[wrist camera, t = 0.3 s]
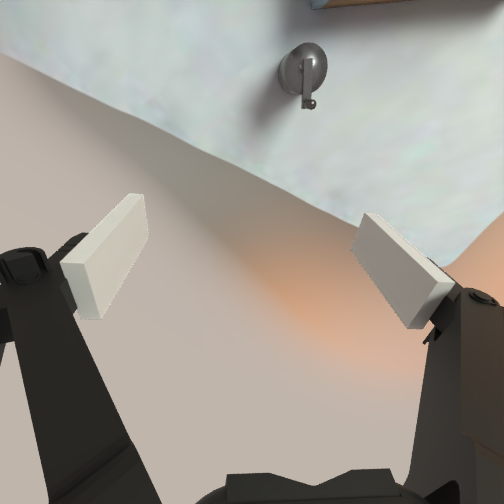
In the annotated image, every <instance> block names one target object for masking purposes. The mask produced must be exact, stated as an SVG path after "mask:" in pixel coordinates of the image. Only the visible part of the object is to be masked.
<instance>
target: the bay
mask: <svg viewBox="0 0 504 504" xmlns="http://www.w3.org/2000/svg"><path fill="white" fill-rule="evenodd" d="M399 1H411V0H312V8H311V9H321V8H332V7H343V6H355V5H366V4H377V3H388V2H399Z"/></svg>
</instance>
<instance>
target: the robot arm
mask: <svg viewBox="0 0 504 504" xmlns="http://www.w3.org/2000/svg"><path fill="white" fill-rule="evenodd" d="M148 238H149V231H148V224H147V216H146V208H145V201H144V195H143V194H132V193H129V194H128V195H127V196H126V197H125V198H124V199H123V200H122V201H121V202H120V203H119V204H118V205H117V206H116V207H115V208H114V209H113V210H112V211H111V212H110V213H109V214H108V215H107V216H106V217H105V218H104V219H103V220H102V221H101V222H100V223H99V224H98V225H97V226H96V227H95V228H94V229H93V230H92V231H91V232H90V233H80V234H78V235H76V236H74V237H72V238H71V239H69V240H68V241H67V242H66V243H65V244H64V246H62V247H61V248H60V249H59V250H58V251H56V252H55V253H54V254H53V255H52V256H51V257H50V258H49V259H47V257H46V254H45V252H44V251H43V250H42V249H40V248H36V247H25V248H18V249H13V250H10V251H7V252H4V253H2V254H0V283H1V285H0V364H1V361H2V357H3V353H4V349H5V345H6V343H8V342H12V341H14V342H15V346H16V351H17V355H18V360H19V364H20V369H21V373H22V378H23V382H24V387H25V392H26V396H27V400H28V405H29V409H30V414H31V419H32V423H33V428H34V432H35V437H36V441H37V446H38V451H39V455H40V459H41V464H42V469H43V473H44V478H45V482H46V487H47V492H48V497H49V504H162V503H161V501H160V498H159V496H158V494H157V492H156V490H155V488H154V486H153V484H152V482H151V479H150V477H149V475H148V473H147V471H146V469H145V466H144V465H143V462H142V460H141V458H140V456H139V454H138V452H137V450H136V448H135V446H134V444H133V442H132V441H131V439H130V437H129V435H128V433H127V431H126V429H125V427H124V425H123V422H122V420H121V418H120V416H119V414H118V412H117V409H116V407H115V405H114V403H113V401H112V399H111V396H110V394H109V392H108V390H107V388H106V386H105V384H104V381H103V379H102V377H101V375H100V373H99V371H98V368H97V366H96V364H95V362H94V360H93V358H92V356H91V353H90V351H89V349H88V347H87V345H86V343H85V340H84V339H83V336H82V334H81V332H80V330H79V328H78V325H77V323H76V321H75V319H74V317H73V313H74V312H75V311H76V309H77V310H78V313H79V316H80V318H81V319H88V320H102V318H103V316H104V315H105V313H106V311H107V309H108V308H109V306H110V304H111V302H112V301H113V299H114V297H115V296H116V294H117V292H118V290H119V289H120V287H121V285H122V283H123V282H124V280H125V278H126V276H127V275H128V273H129V271H130V270H131V267H132V266H133V264H134V263H135V261H136V259H137V257H138V256H139V254H140V252H141V251H142V249H143V247H144V245H145V244H146V242H147V240H148ZM351 252H352V253H353V254H354V256H355V257H356V259H357V260H358V261H359V263H360V264H361V265H362V267H363V268H364V270H365V271H366V272H367V274H368V275H369V277H370V278H371V279H372V281H373V282H374V283H375V285H376V286H377V288H378V289H379V290H380V292H381V293H382V295H383V296H384V297H385V299H386V300H387V301H388V303H389V304H390V305H391V307H392V308H393V310H394V311H395V313H396V314H397V315H398V317H399V318H400V320H401V321H402V322H403V324H404V325H405V327H406V328H407V329H423V328H424V327H425V325H426V323H427V322H428V321H429V320H430V321H431V322H432V323H433V324H434V325H435V326H434V328H433V329H432V330H431V332H430V333H429V335H428V336H427V337H426V339H425V340H424V341H423V344H426V342H429V345H428V352H427V359H426V365H425V372H424V379H423V385H422V392H421V398H420V405H419V412H418V419H417V425H416V432H415V438H414V445H413V451H412V458H411V465H410V471H409V475H408V477H407V479H406V481H405V483H404V485H403V486H402V485H400V484H398V483H395V480H394V478H393V476H392V473H391V471H390V469H361V470H350V471H348V472H346V473H344V474H342V475H339V476H337V477H335V478H333V479H330V480H328V481H326V482H324V483H321V484H319V485H316V486H311V485H307V484H304V483H301V482H297V481H294V480H291V479H288V478H285V477H281V476H278V475H275V474H271V473H252V474H250V473H249V474H227V477H226V485H225V486H223V487H221V488H218V489H216V490H214V491H212V492H211V493H209V494H207V495H206V496H204V497H203V498H202V499H201V500H199V501H198V502H197V503H196V504H504V307H502V306H500V305H499V303H498V302H497V301H496V300H495V299H494V298H493V297H491V296H489V295H488V294H486V293H484V292H482V291H479V290H476V289H473V288H463V287H462V286H461V285H459V284H458V283H457V282H456V281H455V280H454V279H453V278H451V277H450V276H449V275H448V274H447V273H446V272H444V271H443V270H442V269H441V268H440V267H438V265H436V264H435V263H434V262H433V261H432V260H431V259H429V258H427V257H426V256H424V255H423V254H422V253H421V252H420V251H419V250H417V249H416V248H415V247H414V246H413V245H412V244H411V243H410V242H408V241H407V240H406V239H405V238H404V237H403V236H402V235H400V234H399V233H398V232H397V231H396V230H395V229H394V228H392V227H391V226H390V225H389V224H388V223H387V222H386V221H384V220H383V219H382V218H381V217H380V216H379V215H378V214H376V213H364V216H363V218H362V221H361V224H360V226H359V229H358V232H357V234H356V237H355V239H354V242H353V245H352V247H351Z"/></svg>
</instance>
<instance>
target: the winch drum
mask: <svg viewBox="0 0 504 504" xmlns="http://www.w3.org/2000/svg"><path fill="white" fill-rule="evenodd" d="M326 73H327V58H326V55H325V53H324V51H323V49H322V48H321V47H320V46H318V45H317V44H314V43H303V44H301V45H299V46H298V47H296V48H295V49H294V50H292V51H291V52H290V53H288V54H287V55H286V56H285V57H284V58H283V60H282V62H281V64H280V67H279V73H278V76H279V81H280V84H281V86H282V88H283V89H284V90H285V91H286V92H288V93H290V94H302V106H301V109H311V110H312V109H314V108H315V107H316V101H315V100H312V99H311V93H312V92H314V91H316V90H317V89H318V88H319V87H320V86H321V84H322V83H323V81H324V79H325V77H326Z"/></svg>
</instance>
